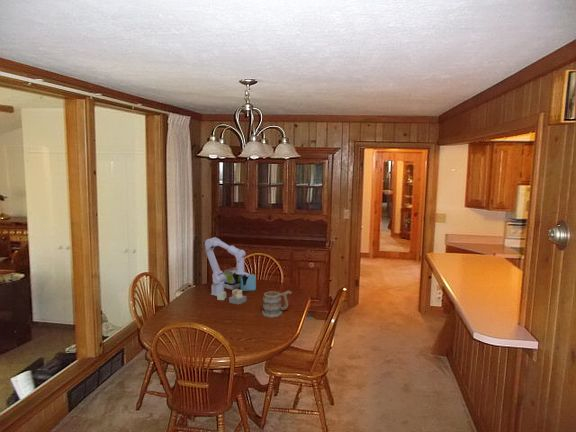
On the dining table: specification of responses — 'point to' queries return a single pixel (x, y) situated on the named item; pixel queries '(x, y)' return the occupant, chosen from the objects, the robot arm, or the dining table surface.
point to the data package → (248, 283)
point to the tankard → (274, 303)
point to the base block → (237, 300)
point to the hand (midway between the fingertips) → (240, 284)
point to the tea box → (231, 279)
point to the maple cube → (237, 293)
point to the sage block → (221, 295)
